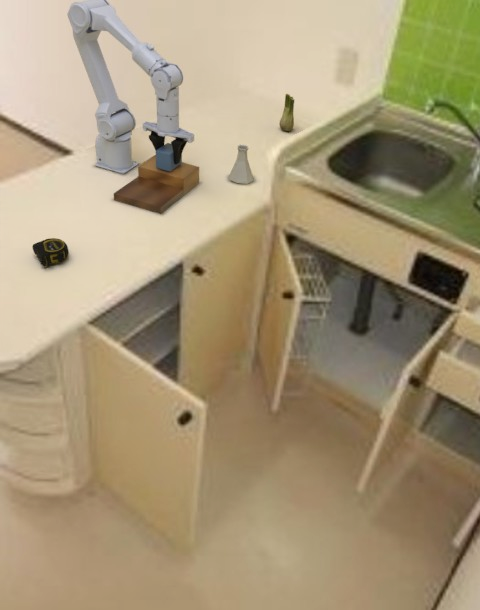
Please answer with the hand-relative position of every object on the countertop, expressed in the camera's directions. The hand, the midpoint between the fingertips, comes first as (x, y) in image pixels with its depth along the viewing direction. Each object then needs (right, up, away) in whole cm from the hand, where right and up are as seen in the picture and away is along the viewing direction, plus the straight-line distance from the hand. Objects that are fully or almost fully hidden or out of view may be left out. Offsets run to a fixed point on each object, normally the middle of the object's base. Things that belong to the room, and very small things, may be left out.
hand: (168, 160), depth 177 cm
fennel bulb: (-3, +27, +41) cm, 49 cm away
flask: (+18, -3, +12) cm, 22 cm away
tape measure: (-19, -30, -32) cm, 48 cm away
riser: (-3, -8, 0) cm, 9 cm away
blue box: (0, -1, +1) cm, 1 cm away
